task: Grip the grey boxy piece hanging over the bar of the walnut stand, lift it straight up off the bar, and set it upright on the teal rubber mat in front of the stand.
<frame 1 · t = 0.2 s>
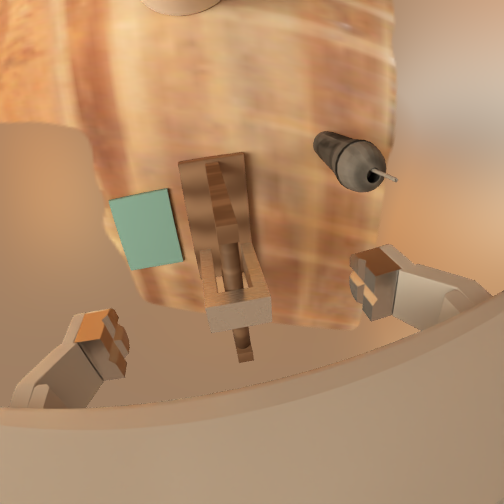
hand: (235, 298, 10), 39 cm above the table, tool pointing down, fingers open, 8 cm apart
grey boxy piece: (227, 258, 42), point 12 cm above the table, touching stand
beverage cup: (325, 143, 48), on the table
mat: (147, 231, 51), on the table
stand: (218, 218, 52), on the table
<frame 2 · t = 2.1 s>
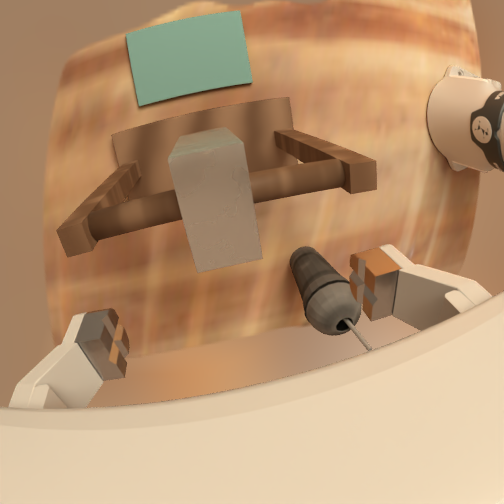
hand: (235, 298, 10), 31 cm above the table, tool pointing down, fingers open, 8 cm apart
grey boxy piece: (210, 169, 26), point 12 cm above the table, touching stand
beverage cup: (303, 258, 47), on the table
mat: (188, 55, 31), on the table
stand: (206, 149, 37), on the table
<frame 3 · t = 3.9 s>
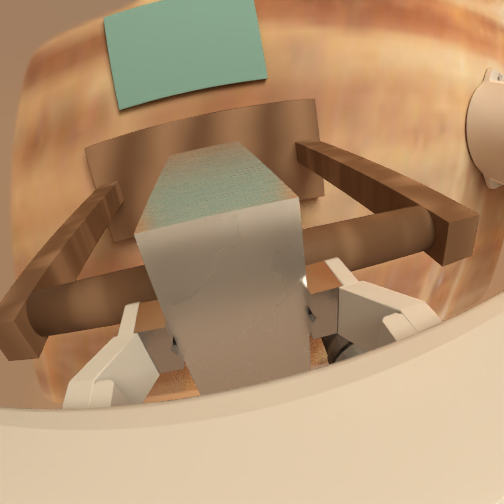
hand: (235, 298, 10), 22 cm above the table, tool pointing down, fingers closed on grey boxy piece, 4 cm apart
grey boxy piece: (215, 204, 18), point 12 cm above the table, touching gripper, stand
beverage cup: (323, 294, 39), on the table
mat: (183, 42, 23), on the table
stand: (207, 165, 29), on the table
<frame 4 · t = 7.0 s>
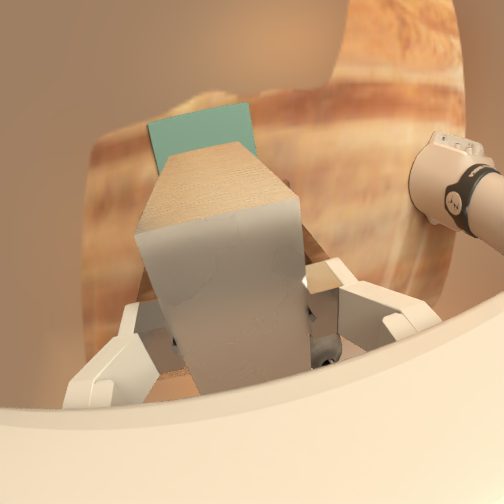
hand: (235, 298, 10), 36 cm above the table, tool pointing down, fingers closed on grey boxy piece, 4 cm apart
grey boxy piece: (215, 204, 18), point 26 cm above the table, touching gripper
beverage cup: (298, 303, 57), on the table
mat: (203, 145, 41), on the table
stand: (220, 224, 47), on the table
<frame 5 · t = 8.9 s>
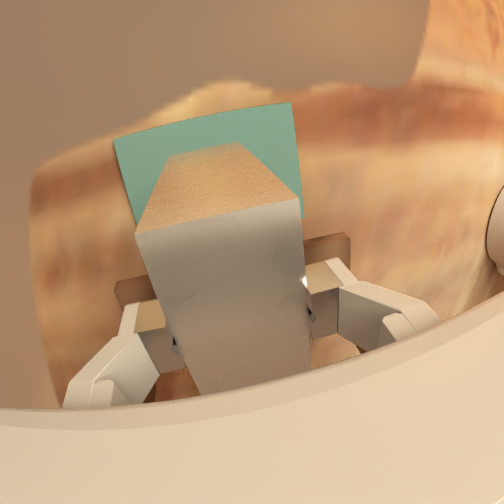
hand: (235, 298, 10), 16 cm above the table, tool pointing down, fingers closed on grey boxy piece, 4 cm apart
grey boxy piece: (215, 204, 18), point 7 cm above the table, touching gripper
mat: (212, 176, 24), on the table
stand: (239, 300, 30), on the table
when the fingers open (12 cm above the table, at t = 10.3 s): grey boxy piece drops 1 cm, resting on mat.
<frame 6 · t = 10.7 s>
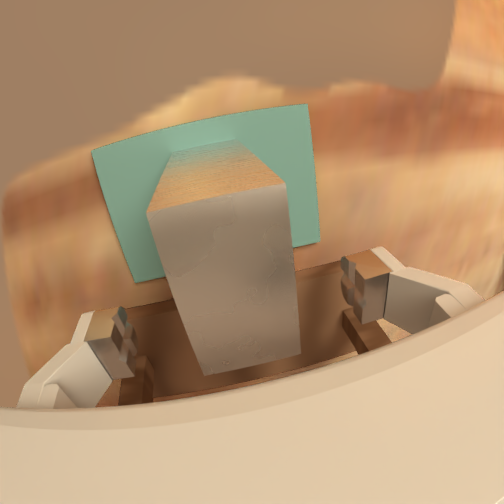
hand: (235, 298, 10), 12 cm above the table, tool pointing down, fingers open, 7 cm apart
grey boxy piece: (214, 197, 20), point 1 cm above the table, touching mat
mat: (212, 194, 20), on the table
stand: (243, 332, 26), on the table
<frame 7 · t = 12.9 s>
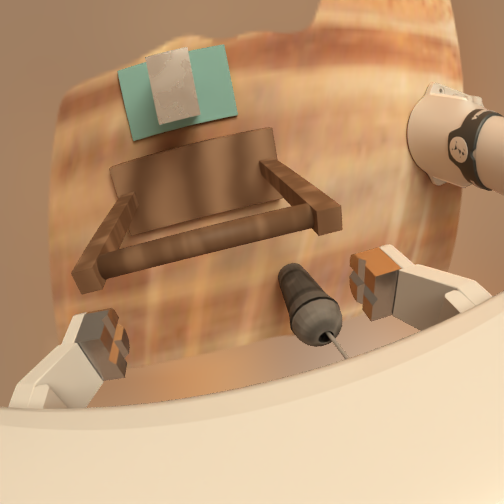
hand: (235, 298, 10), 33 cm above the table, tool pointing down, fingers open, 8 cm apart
grey boxy piece: (177, 90, 34), point 1 cm above the table, touching mat
beverage cup: (291, 274, 51), on the table
mat: (177, 90, 35), on the table
stand: (197, 179, 41), on the table
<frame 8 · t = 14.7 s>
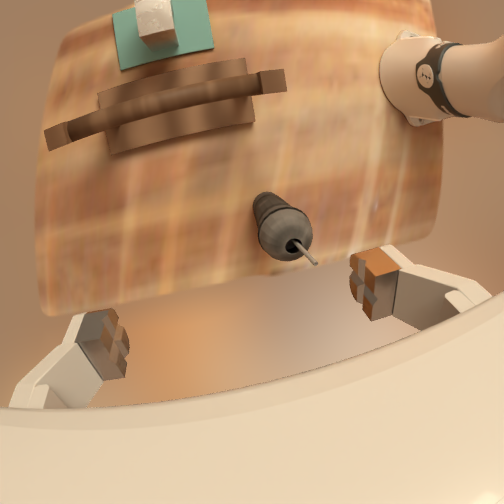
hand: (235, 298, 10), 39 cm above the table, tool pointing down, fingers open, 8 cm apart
grey boxy piece: (162, 28, 34), point 1 cm above the table, touching mat
beverage cup: (266, 204, 51), on the table
mat: (162, 29, 34), on the table
stand: (175, 103, 40), on the table
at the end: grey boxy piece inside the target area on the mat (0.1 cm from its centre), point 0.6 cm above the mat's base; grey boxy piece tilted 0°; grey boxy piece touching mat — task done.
